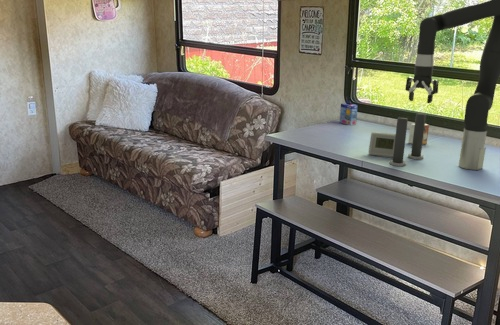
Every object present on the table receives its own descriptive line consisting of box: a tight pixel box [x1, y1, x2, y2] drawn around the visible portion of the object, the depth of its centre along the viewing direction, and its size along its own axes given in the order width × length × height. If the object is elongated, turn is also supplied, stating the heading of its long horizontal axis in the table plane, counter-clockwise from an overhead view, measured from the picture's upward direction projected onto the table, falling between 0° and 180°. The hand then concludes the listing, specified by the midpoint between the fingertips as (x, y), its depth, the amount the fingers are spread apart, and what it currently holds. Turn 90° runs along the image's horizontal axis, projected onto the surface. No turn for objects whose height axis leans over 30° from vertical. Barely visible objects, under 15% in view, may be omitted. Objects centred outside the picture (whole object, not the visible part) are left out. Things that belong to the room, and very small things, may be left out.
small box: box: [407, 123, 430, 145], centre depth 261 cm, size 8×6×10 cm
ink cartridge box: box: [339, 100, 359, 126], centre depth 307 cm, size 10×6×14 cm, turn 35°
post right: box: [407, 112, 427, 161], centre depth 233 cm, size 7×7×21 cm
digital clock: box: [368, 131, 396, 159], centre depth 236 cm, size 16×9×11 cm, turn 56°
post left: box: [389, 117, 409, 167], centre depth 221 cm, size 7×7×21 cm
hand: (420, 101), depth 220 cm, fingers open, 8 cm apart
